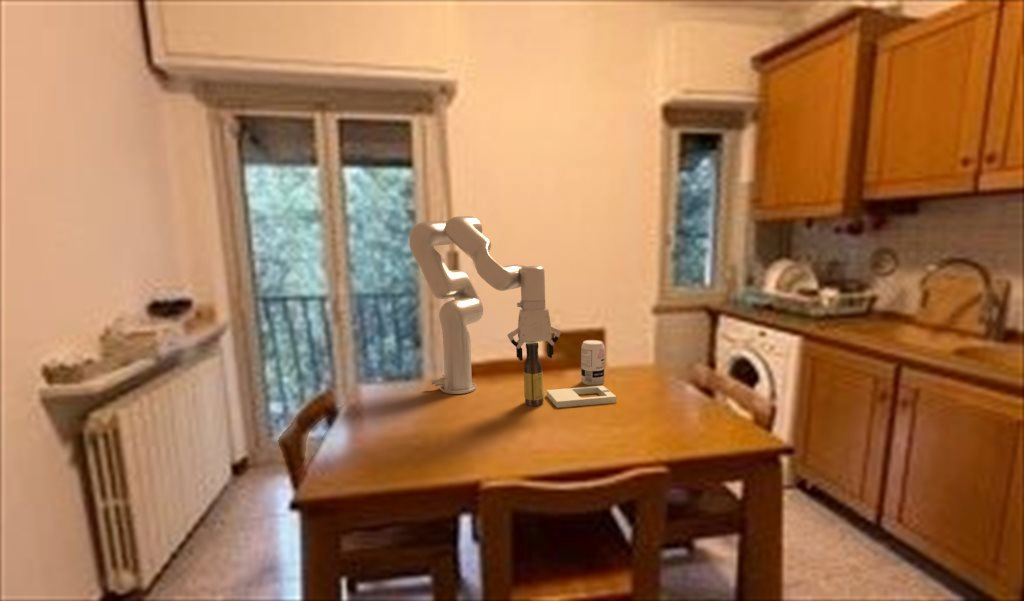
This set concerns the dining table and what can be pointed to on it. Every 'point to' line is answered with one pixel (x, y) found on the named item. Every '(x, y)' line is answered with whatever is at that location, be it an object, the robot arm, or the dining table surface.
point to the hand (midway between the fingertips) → (535, 358)
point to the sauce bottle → (533, 376)
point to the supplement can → (592, 362)
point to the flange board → (571, 397)
